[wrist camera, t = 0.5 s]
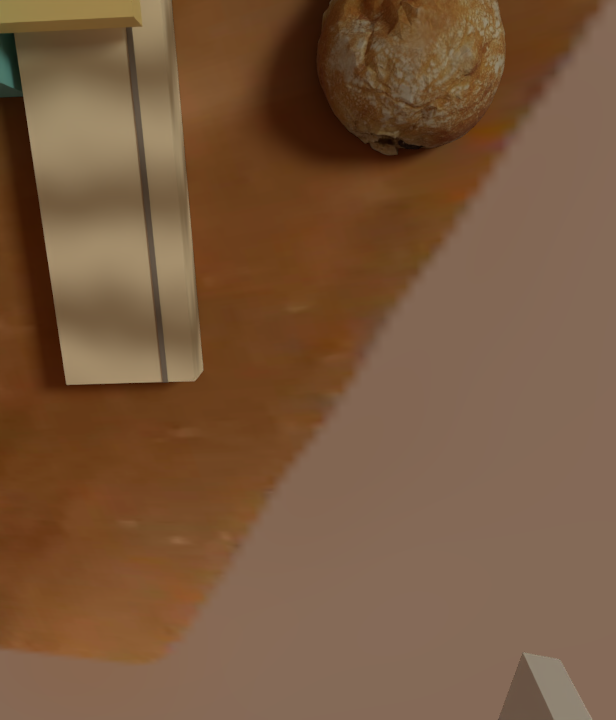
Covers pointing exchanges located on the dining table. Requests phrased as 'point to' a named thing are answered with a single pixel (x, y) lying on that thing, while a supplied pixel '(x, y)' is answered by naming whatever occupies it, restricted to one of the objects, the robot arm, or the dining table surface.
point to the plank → (114, 198)
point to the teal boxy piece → (55, 26)
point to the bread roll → (410, 68)
